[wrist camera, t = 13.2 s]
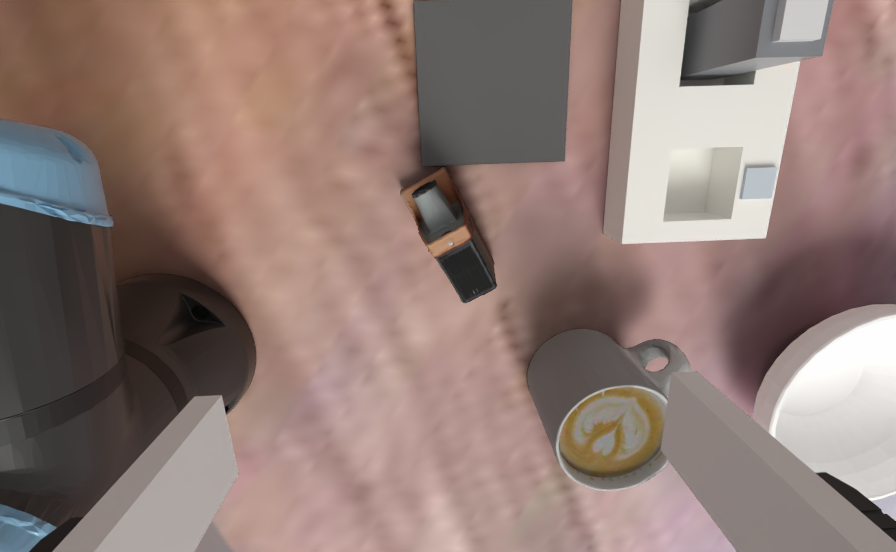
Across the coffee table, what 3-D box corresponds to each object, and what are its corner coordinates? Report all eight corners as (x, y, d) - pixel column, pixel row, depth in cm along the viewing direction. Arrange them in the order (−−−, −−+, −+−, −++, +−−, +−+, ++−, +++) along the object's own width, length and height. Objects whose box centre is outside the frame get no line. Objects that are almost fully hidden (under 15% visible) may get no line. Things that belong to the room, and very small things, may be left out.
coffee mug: (549, 431, 45) (582, 509, 35) (511, 355, 42) (535, 418, 33) (670, 378, 44) (738, 444, 34) (639, 296, 41) (703, 343, 31)
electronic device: (444, 164, 37) (448, 171, 29) (495, 260, 39) (510, 287, 32) (399, 190, 37) (392, 203, 30) (452, 282, 40) (458, 314, 33)
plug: (665, 80, 35) (763, 56, 25) (672, 24, 34) (777, -26, 23) (714, 79, 35) (831, 53, 25) (722, 23, 34) (848, -28, 24)
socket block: (602, 233, 39) (623, 244, 35) (621, -9, 33) (649, -31, 29) (733, 228, 39) (768, 238, 35) (773, -13, 33) (822, -34, 29)
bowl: (776, 260, 40) (846, 284, 34) (946, 311, 43) (1044, 343, 36) (686, 431, 46) (731, 481, 39) (841, 467, 48) (909, 521, 41)
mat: (421, 165, 36) (421, 166, 36) (413, 3, 33) (413, 0, 32) (562, 160, 37) (564, 161, 36) (570, -1, 33) (572, -3, 33)
